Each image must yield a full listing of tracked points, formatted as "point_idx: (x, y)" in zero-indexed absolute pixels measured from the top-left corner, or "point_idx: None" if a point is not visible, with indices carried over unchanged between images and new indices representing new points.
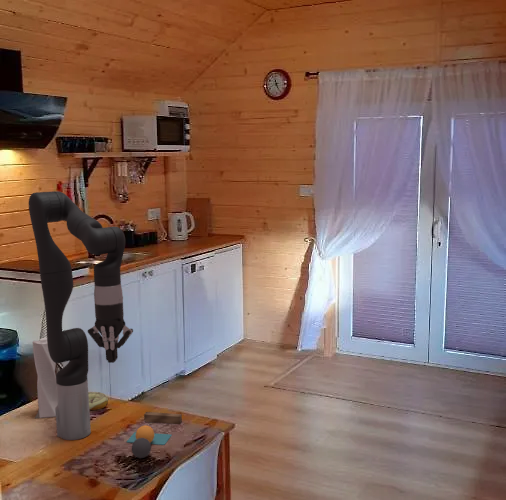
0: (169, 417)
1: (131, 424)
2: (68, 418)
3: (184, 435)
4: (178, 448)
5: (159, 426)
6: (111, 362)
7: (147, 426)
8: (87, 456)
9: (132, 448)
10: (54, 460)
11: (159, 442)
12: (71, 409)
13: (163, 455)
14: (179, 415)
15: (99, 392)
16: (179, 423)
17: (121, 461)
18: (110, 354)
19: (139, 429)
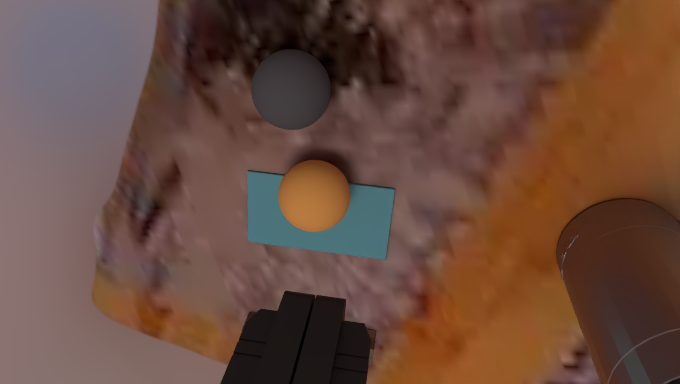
0: None
1: (416, 313)
2: (664, 249)
3: (205, 238)
4: (190, 148)
5: None
6: (305, 294)
7: (297, 215)
8: (521, 72)
9: (317, 68)
10: (662, 29)
11: (270, 185)
12: (662, 276)
13: (223, 94)
14: None
15: None
16: (250, 313)
17: (367, 38)
18: (287, 362)
19: (325, 197)
